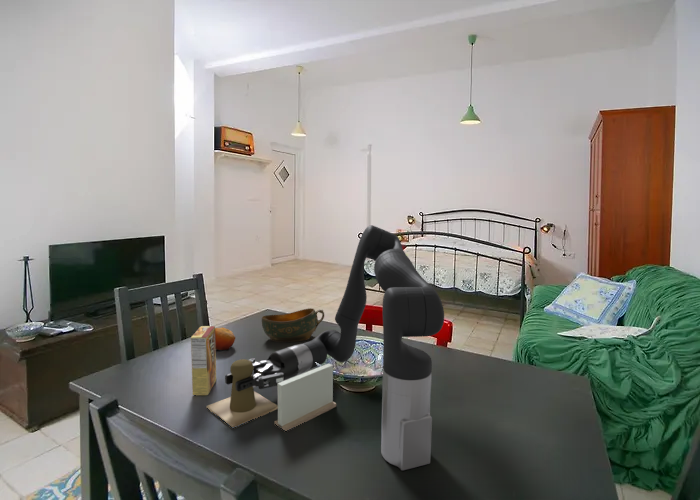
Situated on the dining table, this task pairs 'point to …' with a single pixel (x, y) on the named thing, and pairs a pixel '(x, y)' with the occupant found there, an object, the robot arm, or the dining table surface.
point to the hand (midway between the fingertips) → (231, 383)
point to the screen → (305, 397)
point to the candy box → (203, 360)
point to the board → (237, 418)
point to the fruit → (224, 338)
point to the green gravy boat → (291, 325)
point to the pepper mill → (246, 397)
